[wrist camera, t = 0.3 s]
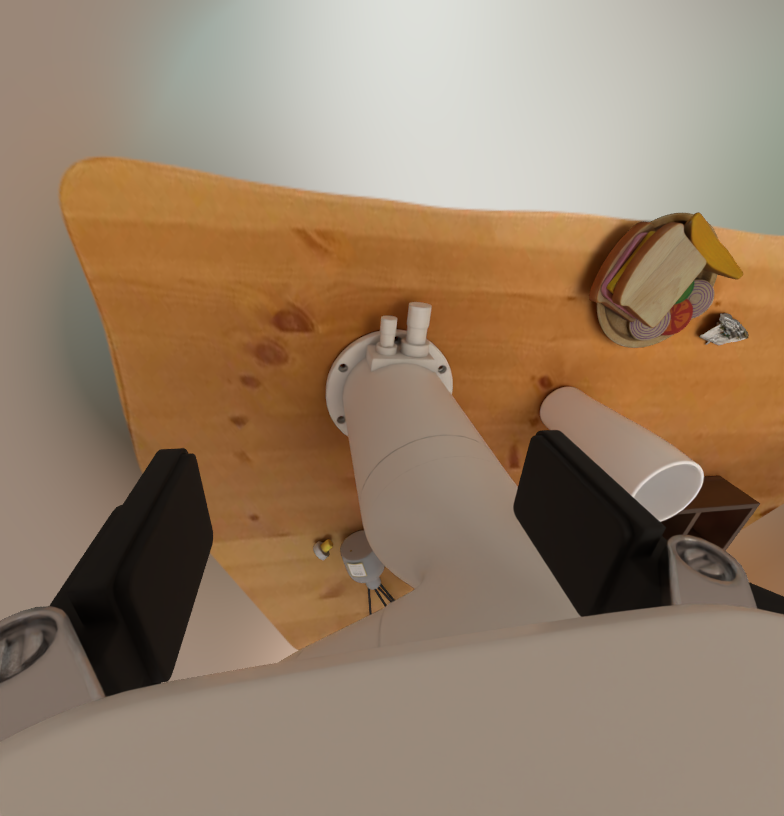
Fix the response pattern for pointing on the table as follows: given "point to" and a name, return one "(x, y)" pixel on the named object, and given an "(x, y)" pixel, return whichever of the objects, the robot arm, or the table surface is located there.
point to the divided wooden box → (713, 513)
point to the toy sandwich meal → (659, 279)
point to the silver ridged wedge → (726, 331)
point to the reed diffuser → (358, 562)
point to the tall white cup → (625, 451)
